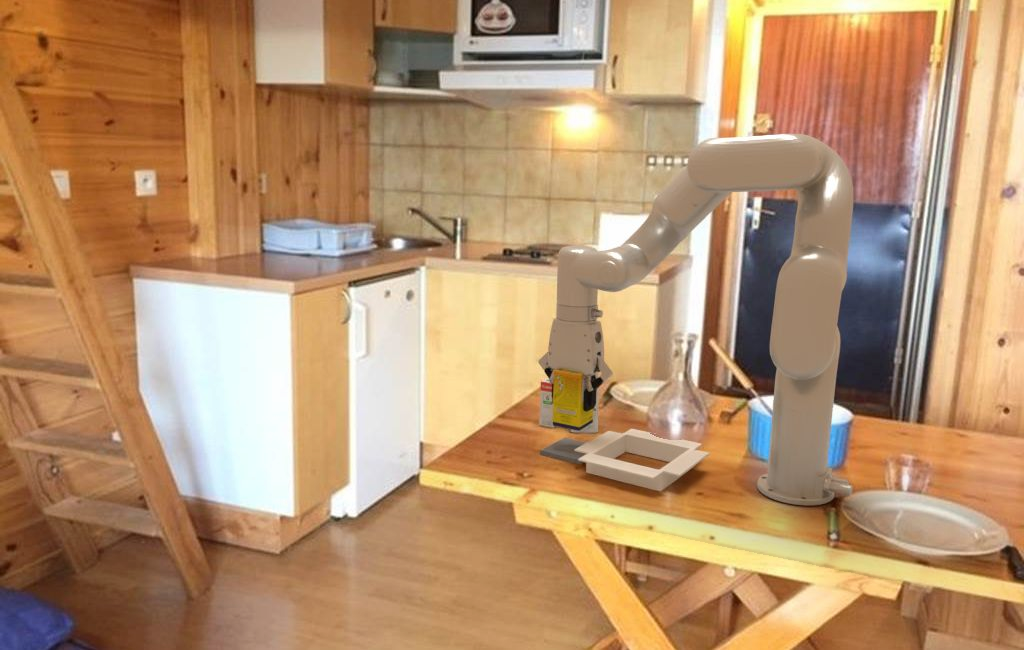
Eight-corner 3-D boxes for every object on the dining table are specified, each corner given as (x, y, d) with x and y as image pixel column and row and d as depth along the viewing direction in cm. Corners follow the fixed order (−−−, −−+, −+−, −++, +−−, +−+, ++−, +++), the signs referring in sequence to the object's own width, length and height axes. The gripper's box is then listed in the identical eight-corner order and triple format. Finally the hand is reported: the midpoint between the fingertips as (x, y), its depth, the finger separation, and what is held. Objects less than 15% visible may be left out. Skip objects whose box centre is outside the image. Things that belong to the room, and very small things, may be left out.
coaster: (604, 450, 165) (604, 446, 165) (580, 464, 158) (581, 460, 157) (564, 441, 170) (564, 437, 170) (539, 454, 163) (540, 450, 162)
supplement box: (565, 417, 167) (567, 363, 164) (593, 423, 164) (595, 367, 161) (551, 425, 162) (552, 369, 159) (579, 431, 159) (581, 374, 156)
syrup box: (598, 433, 175) (600, 364, 172) (569, 433, 175) (571, 364, 172) (596, 424, 180) (598, 357, 177) (568, 424, 180) (570, 357, 177)
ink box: (538, 426, 179) (539, 358, 176) (554, 416, 186) (555, 350, 183) (554, 429, 177) (556, 360, 174) (569, 418, 184) (571, 352, 181)
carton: (716, 465, 158) (717, 447, 157) (669, 501, 142) (670, 481, 141) (617, 442, 170) (617, 425, 169) (563, 473, 153) (563, 455, 152)
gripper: (627, 315, 156) (623, 410, 160) (547, 304, 166) (545, 393, 170) (608, 322, 150) (603, 420, 154) (526, 310, 160) (524, 402, 164)
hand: (573, 405), depth 162 cm, fingers closed on supplement box, 6 cm apart
